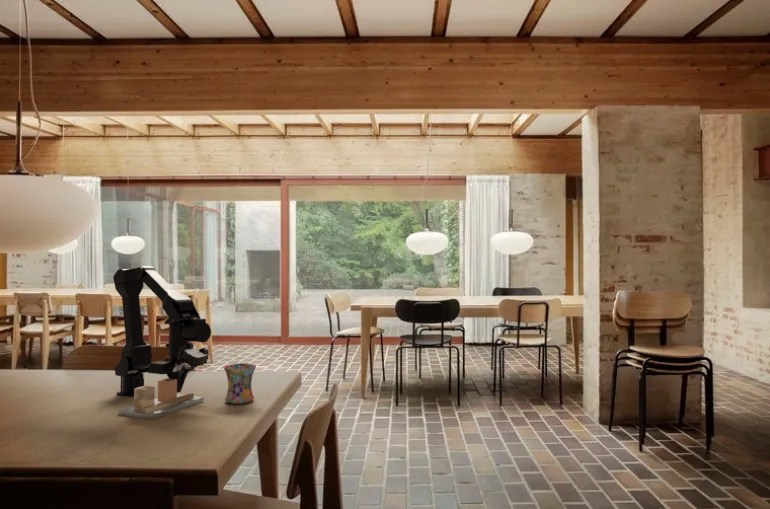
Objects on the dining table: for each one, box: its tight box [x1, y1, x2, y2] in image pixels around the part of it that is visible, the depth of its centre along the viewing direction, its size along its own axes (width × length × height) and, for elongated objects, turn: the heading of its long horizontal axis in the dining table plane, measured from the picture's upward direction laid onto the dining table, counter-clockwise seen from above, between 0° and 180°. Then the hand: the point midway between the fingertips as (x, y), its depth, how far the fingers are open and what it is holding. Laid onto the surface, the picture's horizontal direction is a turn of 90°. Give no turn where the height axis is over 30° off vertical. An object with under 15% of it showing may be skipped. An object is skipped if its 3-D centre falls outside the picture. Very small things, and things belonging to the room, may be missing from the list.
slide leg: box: [157, 377, 178, 402], centre depth 153 cm, size 4×4×6 cm
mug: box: [223, 363, 257, 405], centre depth 160 cm, size 12×9×11 cm
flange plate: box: [117, 393, 205, 420], centre depth 151 cm, size 12×20×1 cm, turn 159°
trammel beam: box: [133, 385, 195, 413], centre depth 151 cm, size 5×18×6 cm, turn 160°
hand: (178, 392), depth 157 cm, fingers closed
